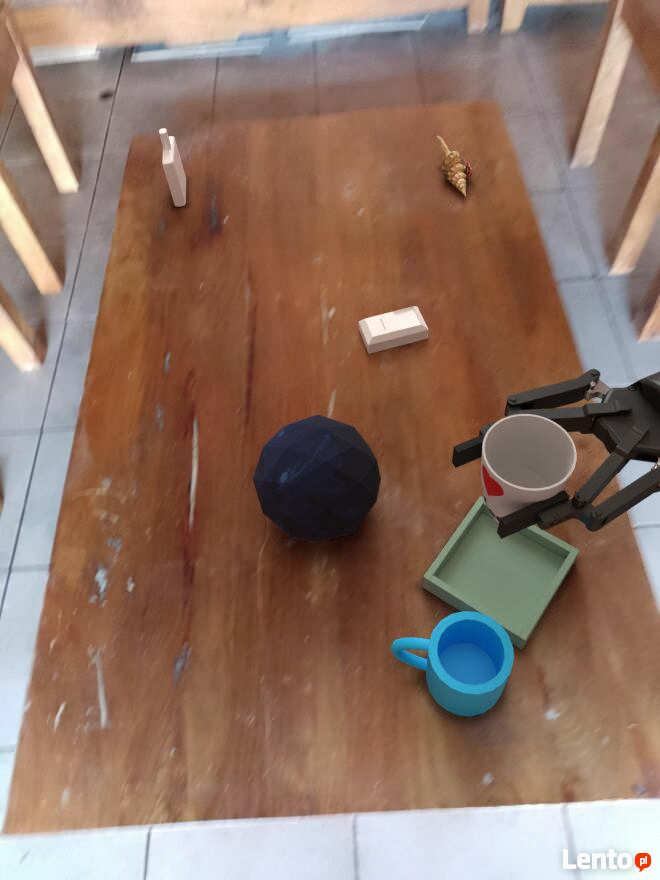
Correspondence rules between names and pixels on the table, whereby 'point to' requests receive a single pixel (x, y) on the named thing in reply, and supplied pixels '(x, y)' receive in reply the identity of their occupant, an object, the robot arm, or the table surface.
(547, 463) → the cup
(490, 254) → the table surface
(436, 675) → the mug
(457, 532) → the tray
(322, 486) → the decorative orb
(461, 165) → the spiral snail shell
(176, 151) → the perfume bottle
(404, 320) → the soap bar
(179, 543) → the table surface
